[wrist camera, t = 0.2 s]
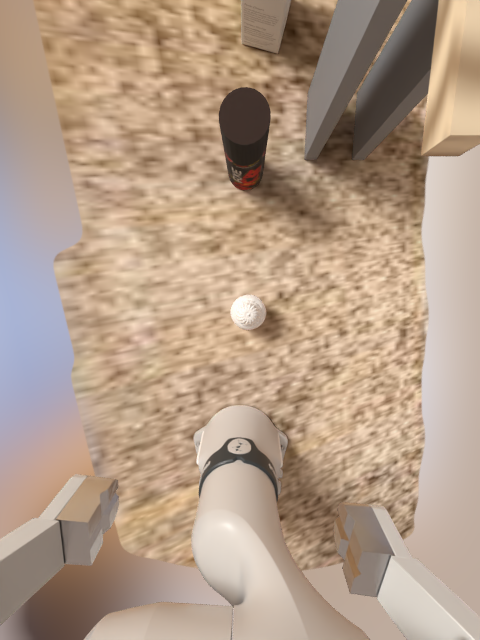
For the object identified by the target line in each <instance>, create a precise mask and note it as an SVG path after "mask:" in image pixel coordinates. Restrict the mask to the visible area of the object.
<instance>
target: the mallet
mask: <svg viewBox="0 0 480 640" xmlns="http://www.w3.org/2000/svg"><path fill="white" fill-rule="evenodd" d="M479 144H480V0H439V4H438V12H437V21H436V29H435V38H434V47H433V55H432V64H431V72H430V81H429V89H428V98H427V107H426V115H425V124H424V132H423V141H422V150H421V156H460V155H462V154H463V153H465V152H466V151H468V150H470V149H472V148H473V147H475V146H477V145H479Z"/></svg>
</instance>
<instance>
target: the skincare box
mask: <svg viewBox="0 0 480 640" xmlns="http://www.w3.org/2000/svg"><path fill="white" fill-rule="evenodd" d="M290 3H291V0H241V40H242V44H244V45H248V46H252V47H255V48H259V49H262V50H266V51H270V52H273V53H276V54H278V52H279V48H280V45H281V41H282V37H283V33H284V29H285V25H286V21H287V16H288V12H289V8H290Z"/></svg>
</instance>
